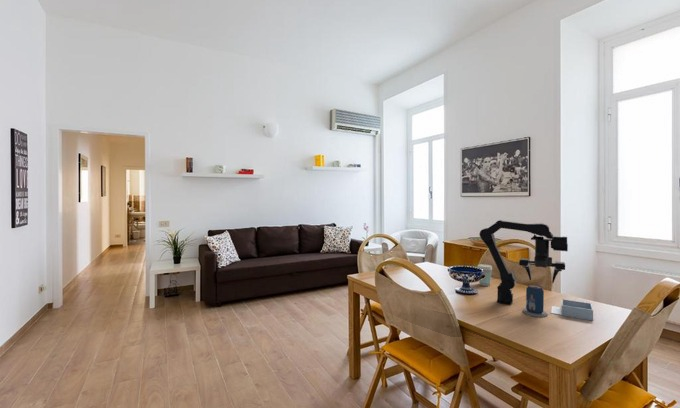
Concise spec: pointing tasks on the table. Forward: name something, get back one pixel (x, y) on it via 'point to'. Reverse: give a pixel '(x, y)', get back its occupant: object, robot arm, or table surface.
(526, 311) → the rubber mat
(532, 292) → the soda can
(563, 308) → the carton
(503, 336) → the table surface
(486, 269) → the coffee cup
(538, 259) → the robot arm
